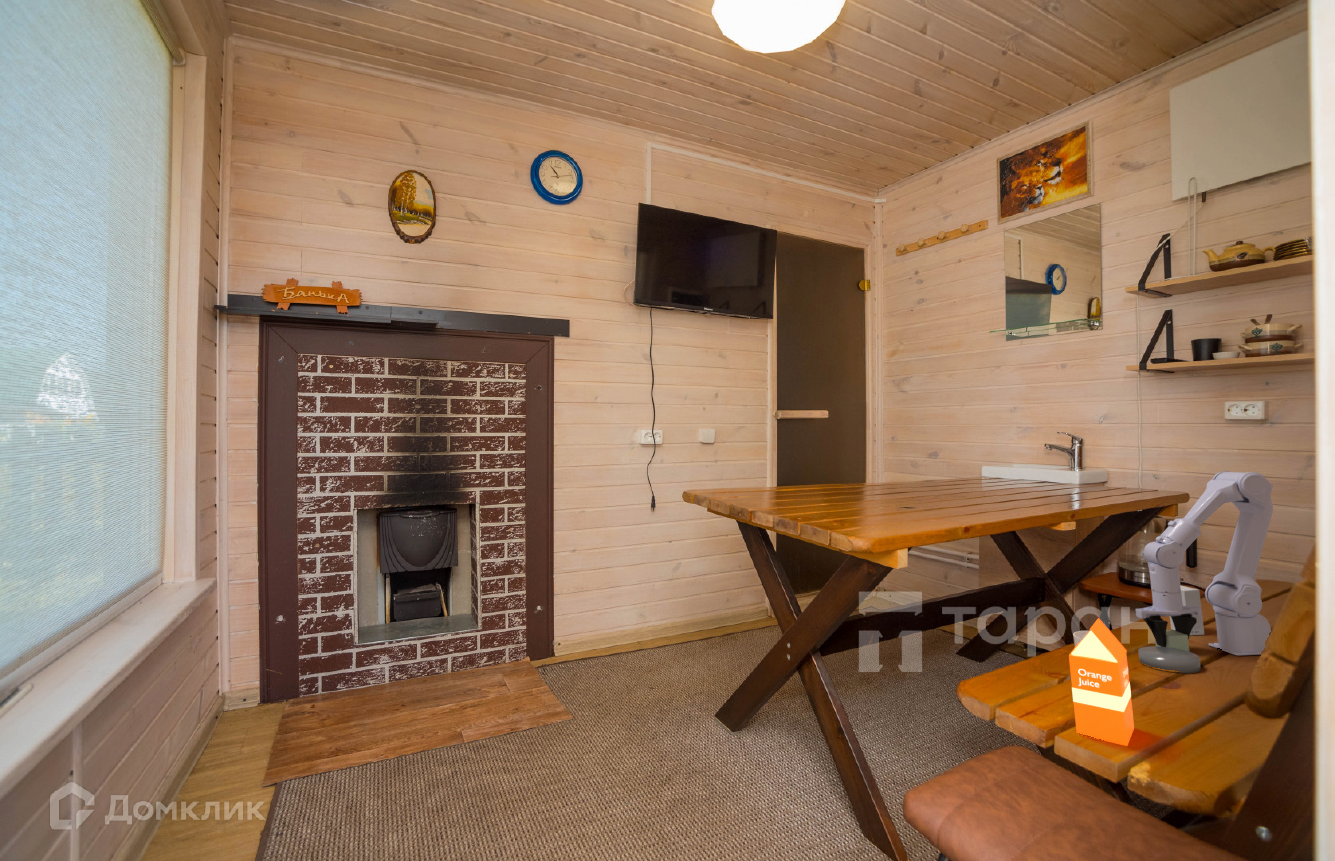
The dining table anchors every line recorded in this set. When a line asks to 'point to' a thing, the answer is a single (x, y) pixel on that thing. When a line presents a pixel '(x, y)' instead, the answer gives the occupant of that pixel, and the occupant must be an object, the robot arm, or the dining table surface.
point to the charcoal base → (1170, 659)
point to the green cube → (1176, 640)
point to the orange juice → (1101, 687)
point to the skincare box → (1191, 599)
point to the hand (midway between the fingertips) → (1172, 645)
